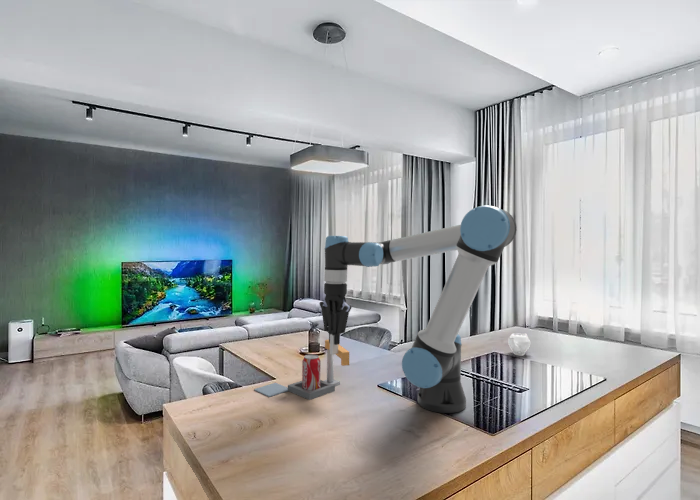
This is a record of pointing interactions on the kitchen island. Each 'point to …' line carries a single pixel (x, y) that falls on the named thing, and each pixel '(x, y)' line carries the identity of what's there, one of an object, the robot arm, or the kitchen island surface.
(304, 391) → the square ring with handle
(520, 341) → the white rounded lump
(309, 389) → the beverage can
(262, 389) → the rubber mat
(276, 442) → the kitchen island surface
